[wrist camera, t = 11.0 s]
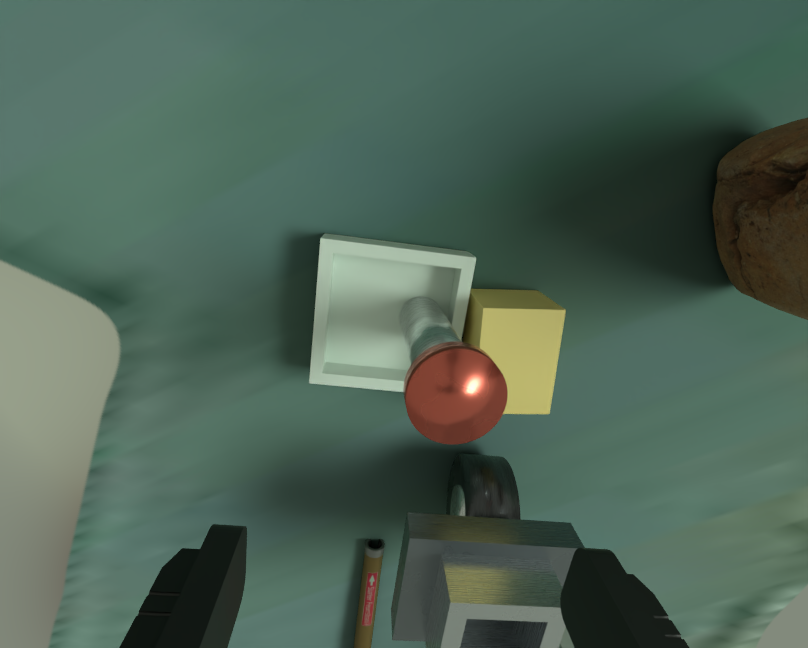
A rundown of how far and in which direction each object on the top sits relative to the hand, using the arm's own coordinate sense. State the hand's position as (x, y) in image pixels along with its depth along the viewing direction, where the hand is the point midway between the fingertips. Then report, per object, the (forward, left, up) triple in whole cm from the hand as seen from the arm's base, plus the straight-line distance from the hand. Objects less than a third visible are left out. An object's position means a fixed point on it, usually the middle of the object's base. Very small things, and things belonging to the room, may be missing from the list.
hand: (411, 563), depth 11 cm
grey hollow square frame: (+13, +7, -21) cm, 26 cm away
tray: (0, 0, -21) cm, 21 cm away
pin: (0, +2, -21) cm, 21 cm away
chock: (+1, +8, -22) cm, 23 cm away
